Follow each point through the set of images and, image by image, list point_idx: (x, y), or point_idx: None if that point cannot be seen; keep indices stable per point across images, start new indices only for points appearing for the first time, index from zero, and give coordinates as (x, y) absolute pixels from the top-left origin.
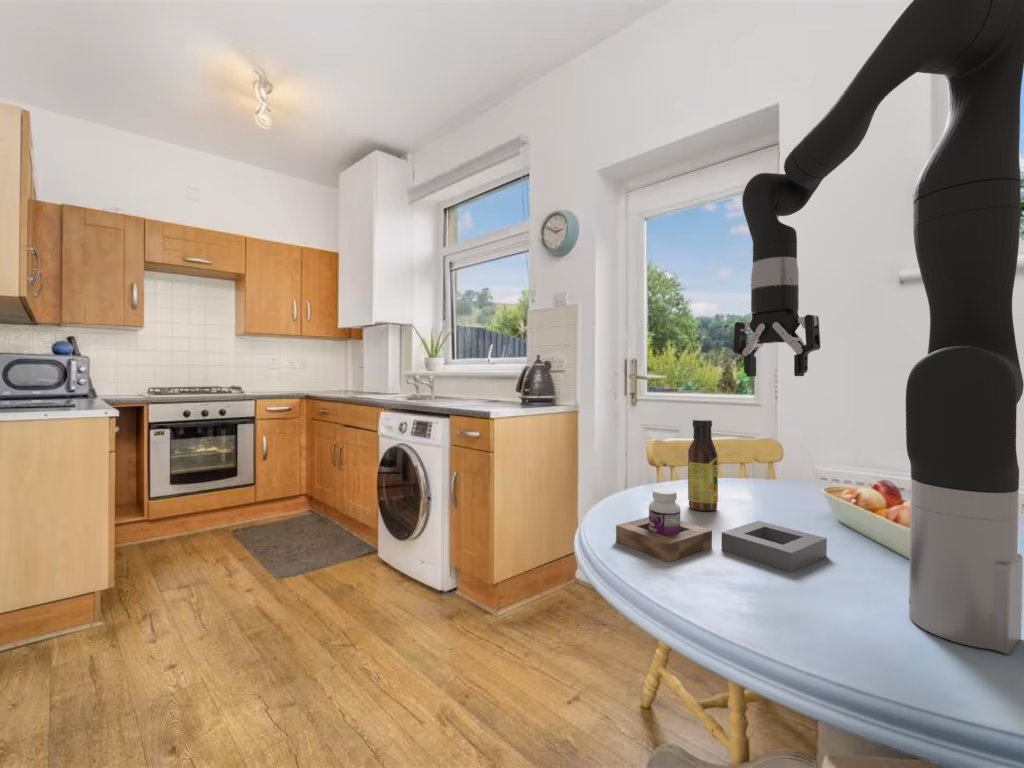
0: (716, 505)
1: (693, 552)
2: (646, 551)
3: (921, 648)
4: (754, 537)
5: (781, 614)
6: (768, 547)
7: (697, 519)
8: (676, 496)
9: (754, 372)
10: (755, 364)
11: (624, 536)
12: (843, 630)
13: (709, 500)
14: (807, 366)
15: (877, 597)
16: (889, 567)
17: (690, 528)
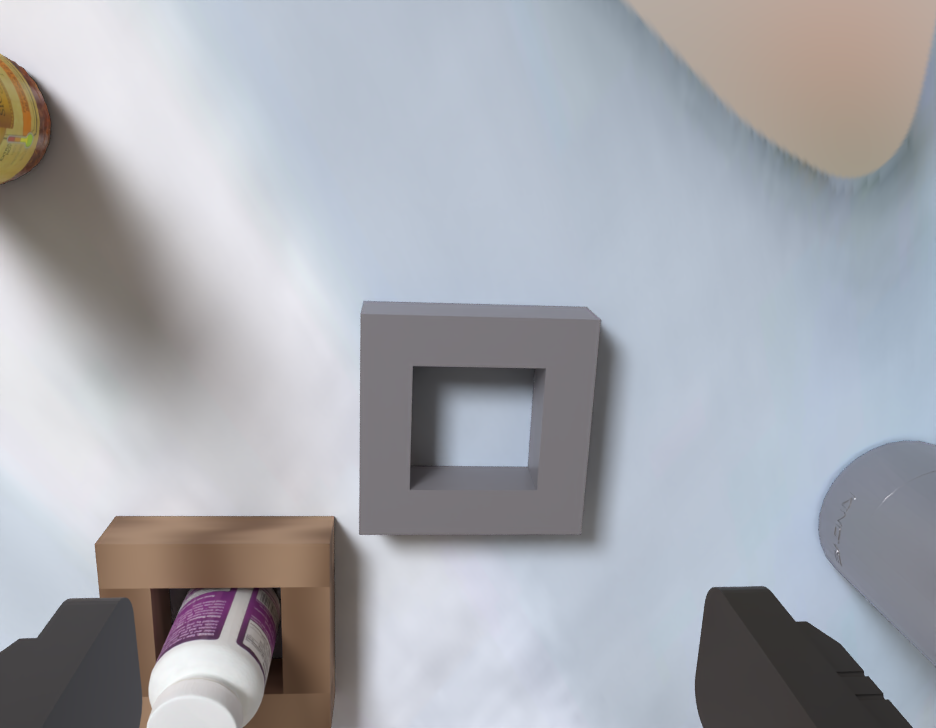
0: (40, 103)
1: (334, 602)
2: None
3: (848, 641)
4: (451, 498)
5: (641, 715)
6: (515, 532)
7: (98, 291)
8: (233, 701)
9: (115, 659)
10: (59, 720)
11: None
12: None
13: (25, 153)
14: (864, 677)
15: (753, 487)
16: (734, 251)
17: (274, 580)
